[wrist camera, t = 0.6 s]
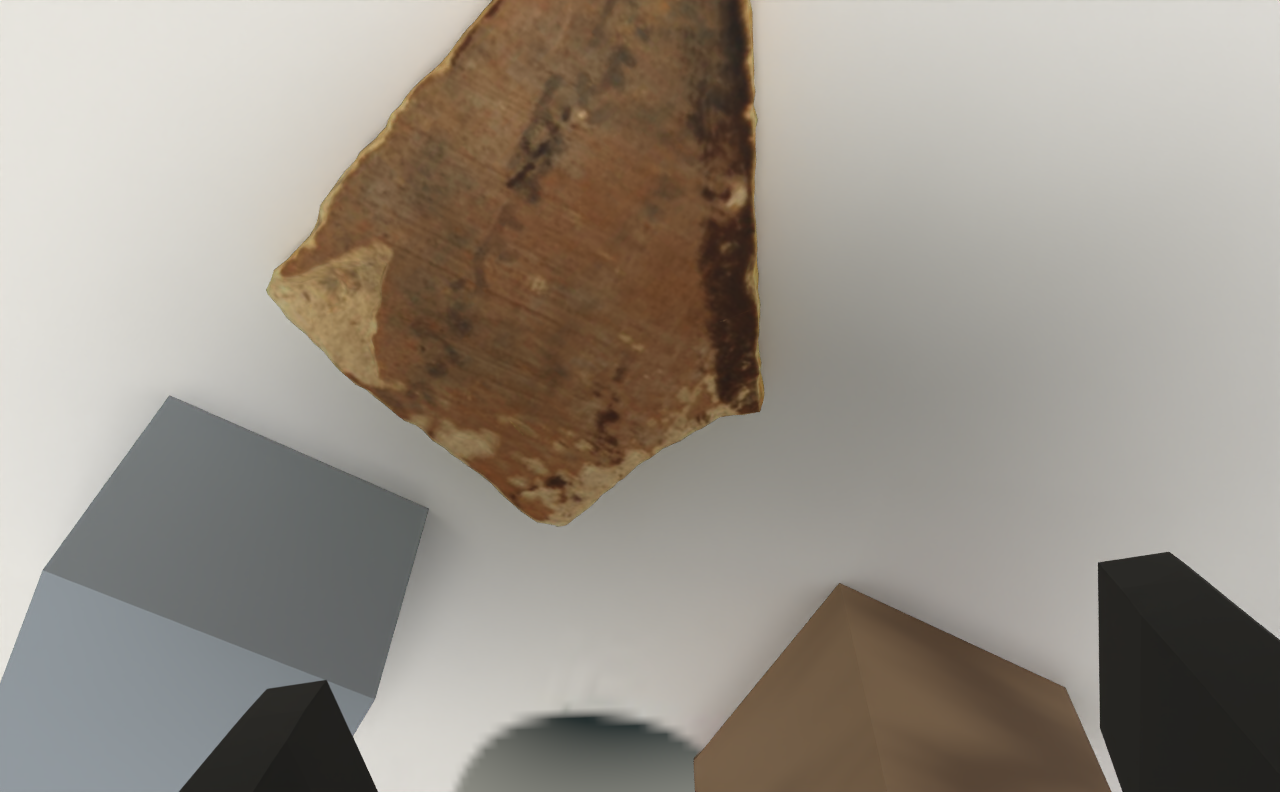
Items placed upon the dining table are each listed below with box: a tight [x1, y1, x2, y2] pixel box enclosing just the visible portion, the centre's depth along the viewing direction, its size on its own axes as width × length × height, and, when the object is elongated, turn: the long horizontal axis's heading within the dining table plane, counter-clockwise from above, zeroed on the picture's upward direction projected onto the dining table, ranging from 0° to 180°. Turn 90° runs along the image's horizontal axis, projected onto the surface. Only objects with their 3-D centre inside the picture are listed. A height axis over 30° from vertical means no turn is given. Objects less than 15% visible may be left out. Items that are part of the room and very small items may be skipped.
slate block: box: [0, 396, 428, 792], centre depth 20 cm, size 5×5×5 cm
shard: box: [266, 0, 764, 527], centre depth 18 cm, size 11×8×2 cm
